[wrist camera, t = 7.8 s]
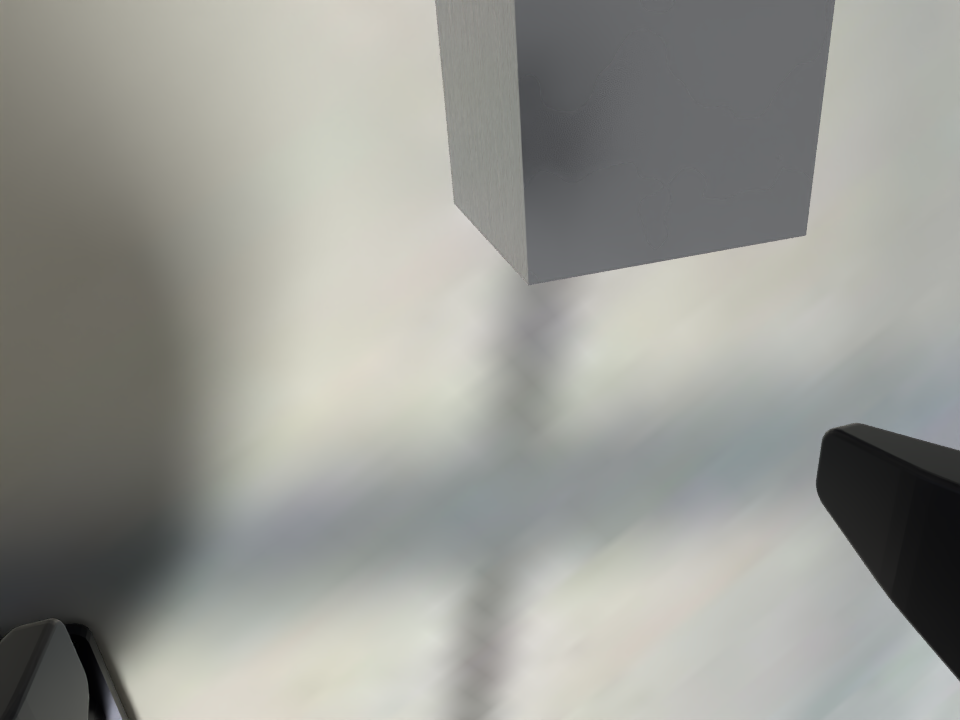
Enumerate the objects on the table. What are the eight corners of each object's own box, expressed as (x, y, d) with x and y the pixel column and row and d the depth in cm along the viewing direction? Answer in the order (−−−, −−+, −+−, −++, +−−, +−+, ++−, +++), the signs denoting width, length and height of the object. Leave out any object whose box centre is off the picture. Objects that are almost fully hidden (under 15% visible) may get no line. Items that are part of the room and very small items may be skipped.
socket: (667, 169, 21) (805, 235, 16) (453, 202, 20) (529, 285, 15) (678, -134, 18) (856, -173, 13) (423, -117, 17) (506, -152, 12)
